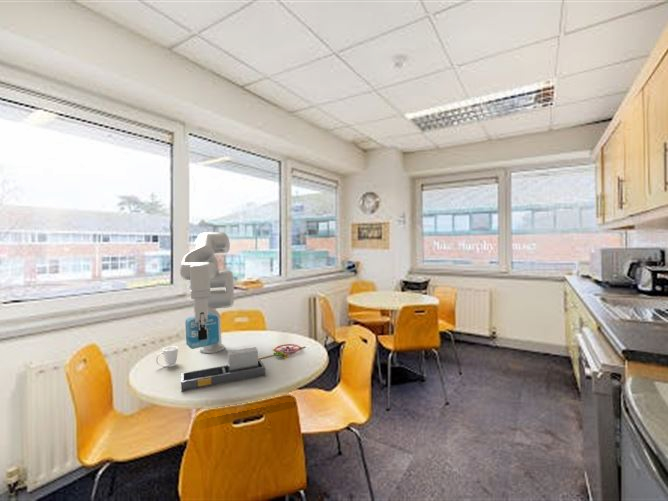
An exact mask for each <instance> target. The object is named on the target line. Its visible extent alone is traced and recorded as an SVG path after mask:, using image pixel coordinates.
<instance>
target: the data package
mask: <svg viewBox="0 0 668 501" xmlns="http://www.w3.org/2000/svg"><path fill="white" fill-rule="evenodd" d="M200 317H201V316H200ZM199 321H200V319H199ZM184 322H185V323H184V324H185V343H186V345H187V347H188V348H189V349H192V350H194V349H198V348H199V349H200V348H201V347H204V346H209V345H213V344H217V343H218V341H219V327H218V317H217V316H215V315H213V314H208V321H207V322H206V329H207V339H205V340H199V338H198V330H199V324H198V323H199V322H198V323H197V324H196V323H195V319H194V316H192V317H190V316H189V317H187V318H186V319H185V321H184ZM200 322H201V321H200ZM204 322H205V321H204ZM200 325H201V324H200Z"/></svg>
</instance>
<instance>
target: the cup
mask: <svg viewBox="0 0 668 501" xmlns="http://www.w3.org/2000/svg"><path fill="white" fill-rule="evenodd" d="M178 352H179V346H176V345H172V346H170V345H169V346H166V347H164V348H162V352H159V353H158V354H157V355H156V358H155V362H156V364H157V365H159V366H161V367H164V368H167V367H168V368H171V367H175V366H176V365H177V360H178V354H179V353H178ZM160 355H163V358H164V362H165V364H166V365H162V364H160V363H159V362H158V359H159V356H160Z"/></svg>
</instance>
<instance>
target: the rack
mask: <svg viewBox="0 0 668 501" xmlns="http://www.w3.org/2000/svg"><path fill="white" fill-rule="evenodd" d="M258 358H259V350H258V348H257V347H256V346H253V347H249V348H248V347H246V348H240V349H234V350H228V351H227V364H226V365H222V366H216V367H215V366H213V367H209V368H205V369H204V368H203V369H197V370H191V371H185V372H181V373H180V382H181V383H180V384H181V385H180V386H181V388H180V389H181V392H188V391H192V390H193V391H194V390H198V389H203V388H209V387H214V386H219V385H225V384H231V383H236V382H240V381H246V380H253V379H257V378H262V377H266V375H267V373H266V366H265V364H264V363H263V362H262V359H260V360H258Z"/></svg>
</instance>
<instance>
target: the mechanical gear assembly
mask: <svg viewBox="0 0 668 501" xmlns="http://www.w3.org/2000/svg"><path fill="white" fill-rule="evenodd" d="M304 348H306V346H300V345H299V344H295V343H285V344H280V345H278V346H276V347H274V348H273V349H272V352H273V354H271V355H266V356H263V357H258V360H262V359H267V358H271V357H274V356H275V357H284V358H285V359H289V356H290V355H287V354H292V353H296V352H297V353H298V352H299V351H300V350H302V349H304Z"/></svg>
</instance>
